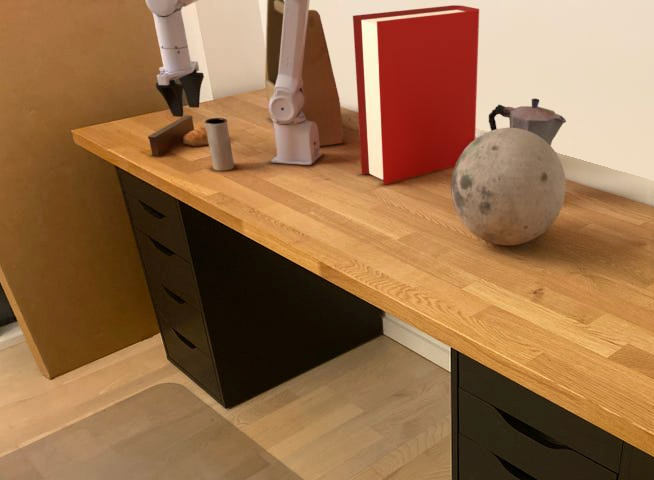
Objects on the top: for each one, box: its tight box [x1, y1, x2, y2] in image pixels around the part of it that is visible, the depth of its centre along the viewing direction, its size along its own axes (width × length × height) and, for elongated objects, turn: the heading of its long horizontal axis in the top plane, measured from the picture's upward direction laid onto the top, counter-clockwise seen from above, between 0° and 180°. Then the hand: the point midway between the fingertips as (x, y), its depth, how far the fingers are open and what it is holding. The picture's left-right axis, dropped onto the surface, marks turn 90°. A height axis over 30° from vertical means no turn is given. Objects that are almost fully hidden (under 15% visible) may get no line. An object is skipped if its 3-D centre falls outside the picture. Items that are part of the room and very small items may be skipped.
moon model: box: [450, 127, 567, 246], centre depth 126 cm, size 20×20×20 cm
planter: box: [204, 117, 235, 172], centre depth 158 cm, size 4×4×10 cm
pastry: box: [182, 124, 209, 147], centre depth 174 cm, size 9×7×4 cm
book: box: [352, 4, 480, 186], centre depth 155 cm, size 27×8×32 cm, turn 131°
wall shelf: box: [147, 114, 195, 157], centre depth 172 cm, size 2×18×4 cm, turn 171°
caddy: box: [264, 0, 344, 147], centre depth 177 cm, size 29×11×30 cm, turn 28°
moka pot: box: [488, 98, 567, 147], centre depth 144 cm, size 10×15×20 cm, turn 78°
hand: (186, 111), depth 161 cm, fingers open, 7 cm apart
